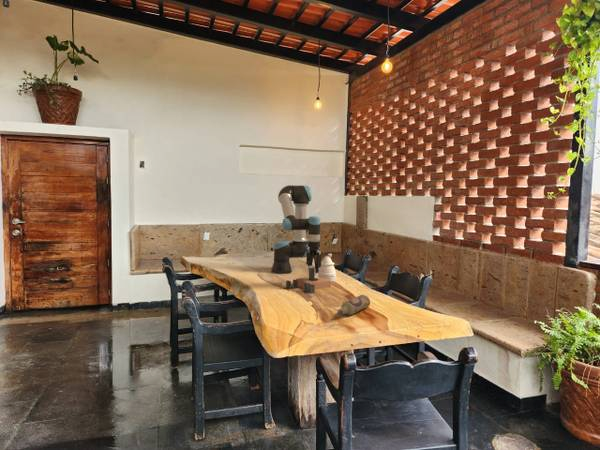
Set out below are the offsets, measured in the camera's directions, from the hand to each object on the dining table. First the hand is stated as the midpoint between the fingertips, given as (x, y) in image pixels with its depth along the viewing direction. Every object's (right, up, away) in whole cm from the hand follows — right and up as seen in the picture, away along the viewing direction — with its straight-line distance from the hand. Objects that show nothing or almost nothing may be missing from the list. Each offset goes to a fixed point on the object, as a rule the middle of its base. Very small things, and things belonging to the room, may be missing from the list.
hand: (313, 276), depth 240 cm
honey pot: (+10, -5, +18) cm, 21 cm away
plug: (0, -6, 0) cm, 6 cm away
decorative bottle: (+17, -11, -52) cm, 56 cm away
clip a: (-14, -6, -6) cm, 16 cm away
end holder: (0, -6, 0) cm, 6 cm away
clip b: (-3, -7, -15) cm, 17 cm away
